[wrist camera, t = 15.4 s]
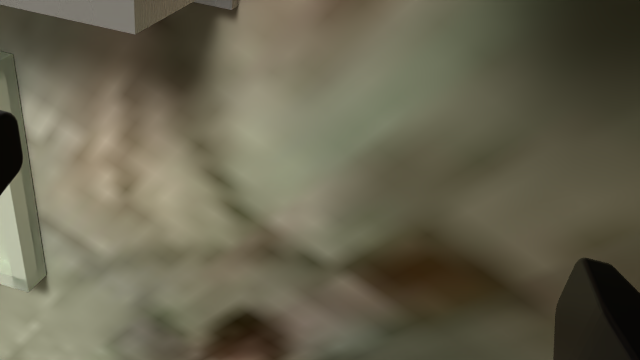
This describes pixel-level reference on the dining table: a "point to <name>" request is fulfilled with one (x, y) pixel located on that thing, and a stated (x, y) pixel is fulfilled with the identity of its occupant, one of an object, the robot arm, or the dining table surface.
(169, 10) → the box
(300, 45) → the dining table surface
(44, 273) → the tray
